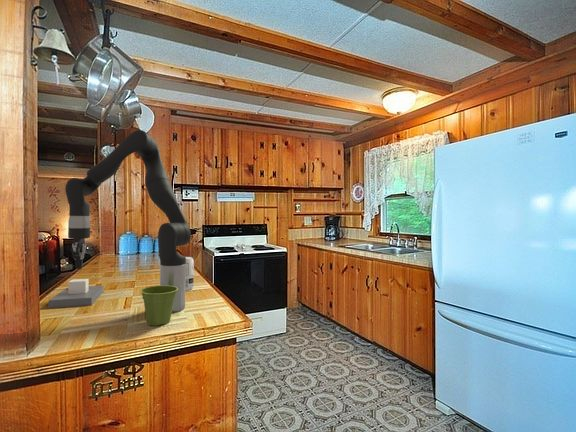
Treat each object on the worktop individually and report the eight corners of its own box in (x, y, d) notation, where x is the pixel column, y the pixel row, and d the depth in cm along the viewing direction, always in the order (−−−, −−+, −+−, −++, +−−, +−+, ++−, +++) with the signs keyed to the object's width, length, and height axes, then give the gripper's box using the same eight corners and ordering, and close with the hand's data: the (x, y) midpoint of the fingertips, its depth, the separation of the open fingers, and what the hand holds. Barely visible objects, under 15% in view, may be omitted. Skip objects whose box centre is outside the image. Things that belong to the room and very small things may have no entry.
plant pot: (176, 327, 98) (177, 292, 98) (136, 330, 95) (136, 294, 95) (178, 315, 110) (179, 284, 110) (143, 317, 106) (143, 285, 106)
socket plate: (91, 305, 119) (91, 296, 119) (48, 308, 114) (48, 298, 114) (103, 292, 138) (103, 284, 138) (66, 294, 133) (67, 286, 133)
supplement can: (172, 288, 147) (173, 257, 146) (188, 285, 153) (188, 256, 152) (180, 291, 141) (181, 259, 141) (196, 288, 147) (197, 258, 147)
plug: (85, 298, 125) (85, 281, 125) (68, 299, 123) (68, 282, 123) (88, 295, 129) (88, 278, 129) (71, 296, 127) (72, 279, 127)
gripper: (85, 227, 121) (84, 271, 121) (94, 226, 133) (93, 265, 133) (62, 227, 118) (62, 272, 118) (74, 226, 130) (73, 266, 131)
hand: (78, 268), depth 126 cm, fingers closed
